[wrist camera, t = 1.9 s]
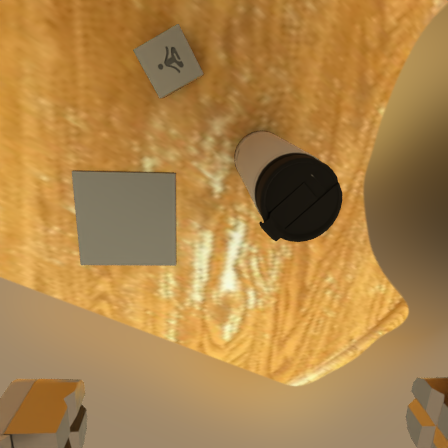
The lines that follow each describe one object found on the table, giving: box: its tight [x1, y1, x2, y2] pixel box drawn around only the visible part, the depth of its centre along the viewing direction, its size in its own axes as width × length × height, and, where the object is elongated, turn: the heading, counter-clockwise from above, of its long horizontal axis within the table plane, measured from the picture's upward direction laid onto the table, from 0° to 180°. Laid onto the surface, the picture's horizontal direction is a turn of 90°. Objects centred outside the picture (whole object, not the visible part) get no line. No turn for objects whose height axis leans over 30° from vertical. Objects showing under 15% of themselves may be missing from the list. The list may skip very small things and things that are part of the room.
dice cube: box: [133, 24, 203, 98], centre depth 39 cm, size 5×5×5 cm
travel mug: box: [235, 131, 342, 242], centre depth 36 cm, size 6×7×20 cm
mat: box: [72, 171, 176, 265], centre depth 47 cm, size 12×12×1 cm
